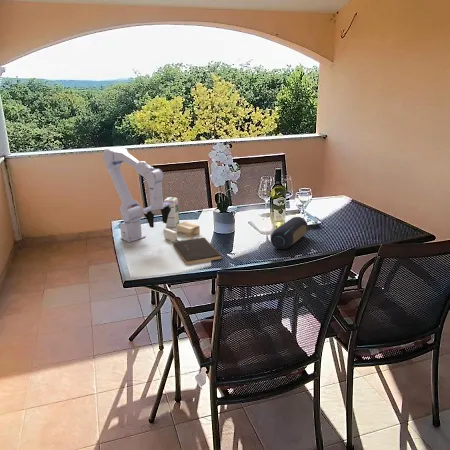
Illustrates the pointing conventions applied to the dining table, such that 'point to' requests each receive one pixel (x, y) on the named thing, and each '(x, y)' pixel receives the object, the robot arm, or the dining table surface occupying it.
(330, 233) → the dining table surface
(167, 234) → the cream white block
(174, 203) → the syrup box
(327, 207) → the dining table surface
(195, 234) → the tan cardboard box
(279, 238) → the portable speaker
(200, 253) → the hardcover book
